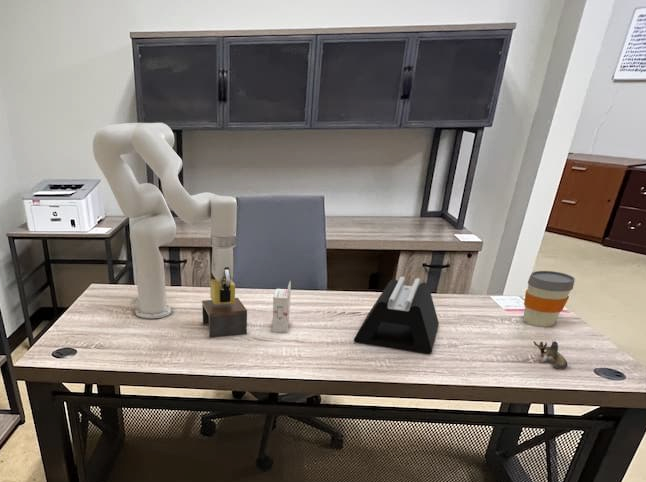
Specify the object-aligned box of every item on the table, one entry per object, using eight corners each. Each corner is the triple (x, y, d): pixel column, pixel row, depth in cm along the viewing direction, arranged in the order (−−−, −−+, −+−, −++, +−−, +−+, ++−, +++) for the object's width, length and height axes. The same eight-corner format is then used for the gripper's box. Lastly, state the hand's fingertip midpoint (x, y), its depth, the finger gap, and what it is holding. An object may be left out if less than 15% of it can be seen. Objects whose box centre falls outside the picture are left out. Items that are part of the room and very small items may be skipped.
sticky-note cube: (214, 304, 165) (214, 286, 162) (210, 297, 171) (210, 279, 167) (234, 303, 166) (235, 284, 163) (230, 296, 172) (230, 278, 169)
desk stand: (209, 337, 167) (209, 313, 163) (202, 323, 177) (202, 300, 173) (246, 334, 169) (247, 310, 165) (237, 320, 179) (237, 297, 175)
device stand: (438, 326, 172) (448, 281, 164) (431, 354, 154) (441, 305, 146) (367, 316, 180) (374, 273, 172) (353, 342, 162) (359, 295, 155)
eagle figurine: (524, 353, 151) (549, 361, 143) (539, 331, 150) (565, 338, 141) (541, 365, 154) (567, 373, 145) (557, 343, 152) (583, 351, 144)
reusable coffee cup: (551, 331, 167) (567, 285, 159) (510, 321, 175) (523, 276, 167) (566, 321, 174) (582, 276, 166) (526, 311, 182) (539, 268, 174)
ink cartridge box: (274, 322, 177) (276, 279, 170) (288, 323, 176) (291, 279, 169) (271, 332, 170) (273, 287, 162) (286, 333, 169) (289, 288, 162)
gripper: (205, 234, 165) (205, 289, 175) (217, 249, 151) (216, 308, 160) (228, 232, 166) (227, 288, 176) (242, 247, 152) (240, 306, 161)
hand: (222, 297), depth 168 cm, fingers closed on sticky-note cube, 6 cm apart
